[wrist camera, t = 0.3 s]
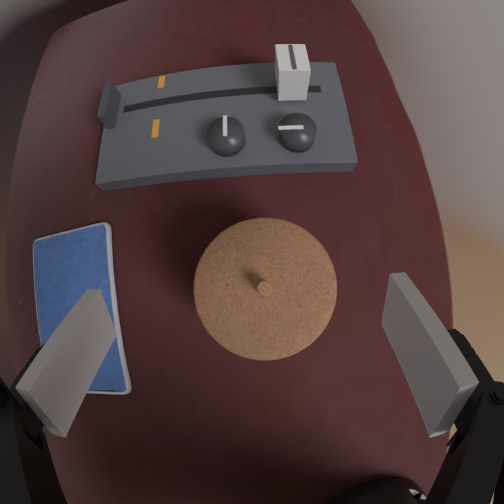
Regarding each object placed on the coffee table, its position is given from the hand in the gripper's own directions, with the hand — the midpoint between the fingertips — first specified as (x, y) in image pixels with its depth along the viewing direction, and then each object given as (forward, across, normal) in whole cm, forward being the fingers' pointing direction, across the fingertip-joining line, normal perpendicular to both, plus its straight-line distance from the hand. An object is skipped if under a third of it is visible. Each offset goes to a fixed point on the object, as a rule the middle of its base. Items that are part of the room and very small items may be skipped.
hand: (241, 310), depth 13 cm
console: (+25, +3, -7) cm, 26 cm away
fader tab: (+24, -5, -11) cm, 27 cm away
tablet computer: (+14, +21, +10) cm, 28 cm away
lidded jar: (+15, -1, +9) cm, 17 cm away
